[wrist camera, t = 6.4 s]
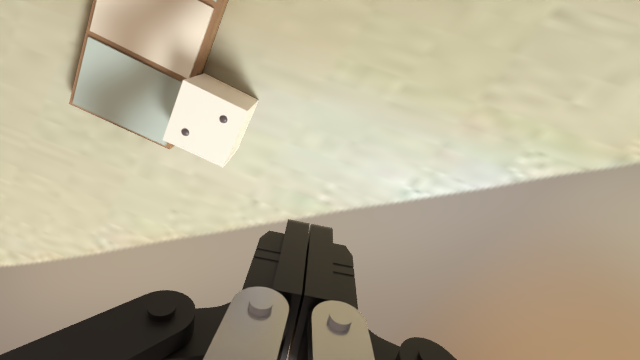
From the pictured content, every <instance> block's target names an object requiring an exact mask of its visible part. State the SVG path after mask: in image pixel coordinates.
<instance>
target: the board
mask: <svg viewBox="0 0 640 360" xmlns="http://www.w3.org/2000/svg"><path fill="white" fill-rule="evenodd" d="M227 3H228V0H93V4H92V8H91V12H90V17H89V21H88V25H87V29H86V34H85V38H84V42H83V47H82V51H81V55H80V59H79V64H78V68H77V72H76V77H75V81H74V85H73V89H72V94H71V98H70V102H69V104H71V105H73V106H75V107H78V108H80V109H82V110H84V111H86V112H89V113H91V114H93V115H95V116H97V117H100V118H102V119H104V120H106V121H108V122H111V123H113V124H115V125H117V126H119V127H122V128H124V129H126V130H128V131H130V132H133V133H135V134H137V135H139V136H141V137H144V138H146V139H148V140H150V141H152V142H154V143H157V144H159V145H161V146H163V147H165V148H168V149H170V148H172V147H173V146H175V145H173V144H170V143H168V142H166V141H164V140H163V137H164V134H165V131H166V128H167V125H168V123H169V120H170V117H171V114H172V111H173V108H174V105H175V102H176V99H177V96H178V93H179V90H180V88H181V85H182V82H183V80H184V79H188V78H191V77H194V76H197V75H201V74H202V72H203V69H204V66H205V63H206V61H207V58H208V55H209V52H210V50H211V47H212V44H213V41H214V39H215V36H216V33H217V30H218V28H219V25H220V22H221V19H222V17H223V14H224V11H225V8H226V6H227Z"/></svg>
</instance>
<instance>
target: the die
mask: <svg viewBox="0 0 640 360" xmlns="http://www.w3.org/2000/svg"><path fill="white" fill-rule="evenodd" d="M258 101H259V100H258V99H256V98H254V97H252V96H250V95H248V94H246V93H243V92H241V91H239V90H237V89H235V88H233V87H231V86H229V85H227V84H225V83H223V82H221V81H219V80H217V79H215V78H213V77H211V76H209V75H207V74H205V73H204V74H201V75H197V76H194V77H191V78H188V79H184V80H183V82H182V85H181V88H180V90H179V93H178V96H177V99H176V102H175V105H174V108H173V111H172V114H171V117H170V120H169V123H168V125H167V128H166V131H165V134H164V137H163V140H164V141H166V142H168V143H170V144H173V145H175V146H177V147H179V148H181V149H184V150H186V151H188V152H190V153H192V154H195V155H197V156H199V157H201V158H203V159H206V160H208V161H210V162H212V163H214V164H217V165H219V166H221V167H224V166H225V165H226V164H227V162H228V161H229V160H230V159H231V157H232V156H233V155H234V153H235V152H236V151H237V150H238V147H239V145H240V143H241V140H242V138H243V136H244V133H245V131H246V129H247V126H248V124H249V122H250V119H251V117H252V115H253V113H254V110H255V108H256V106H257V103H258Z"/></svg>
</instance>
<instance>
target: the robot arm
mask: <svg viewBox="0 0 640 360" xmlns="http://www.w3.org/2000/svg"><path fill="white" fill-rule="evenodd" d="M308 232H309V233H308ZM290 341H291V342H290ZM289 346H290V349H289ZM288 350H289V357H288V360H457V359H455V358H454V357H453V356H452V355H451V354H450V353H449V352H448V351H447V350H445V349H444V348H443V347H442V346H440V345H439V344H437V343H435V342H433V341H431V340H428V339H424V338H417V337H414V338H409V339H407V340H405V341H404V342H403V343H402V344H401V347H399V346H397V345H395V344H392V343H390V342H388V341H386V340H384V339H382V338H380V337H378V336H376V335H375V334H373V333H372V332H371V331H370V330H369V329H368V326H367V323H366V320H365V318H364V316H363V315H362V314H361V313H360V312H359V311H358V307H357V296H356V287H355V278H354V269H353V257H352V255H351V253H350V252H349V251H348V249H347V247H346V246H344V245H339V244H334V243H333V230H332V228H329V227H324V226H319V225H314V224H311V226H310V230H309V223H304V222H299V221H294V220H289V219H288V222H287V227H286V231H285V234H283V233H278V232H273V231H269V232H267V233H266V234H265V235H263V236H262V237H261V238H260V240H259V243H258V246H257V249H256V251H255V254H254V258H253V260H252V263H251V266H250V269H249V271H248V274H247V277H246V280H245V283H244V286H243V289H242V290H241V291H240V292H238V293H237V294H236V295H235V296H234V298H233V299H232V301H231V302H230V303H228V304H225V305H222V306H219V307H213V308H199V309H195V305H194V303H193V301H192V300H191V299H190V298H189V297H188V296H186V295H184V294H183V293H179V292H176V291H169V290H165V291H156V292H152V293H149V294H146V295H143V296H141V297H139V298H136V299H134V300H131V301H129V302H127V303H124V304H122V305H119V306H117V307H115V308H112V309H110V310H107V311H105V312H103V313H100V314H98V315H95V316H93V317H91V318H88V319H86V320H83V321H81V322H79V323H76V324H74V325H71V326H69V327H67V328H64V329H62V330H59V331H57V332H55V333H52V334H50V335H48V336H45V337H43V338H40V339H38V340H35V341H33V342H31V343H28V344H26V345H23V346H21V347H19V348H16V349H14V350H11V351H9V352H7V353H4V354H2V355H0V360H286V358H287V354H288Z"/></svg>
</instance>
